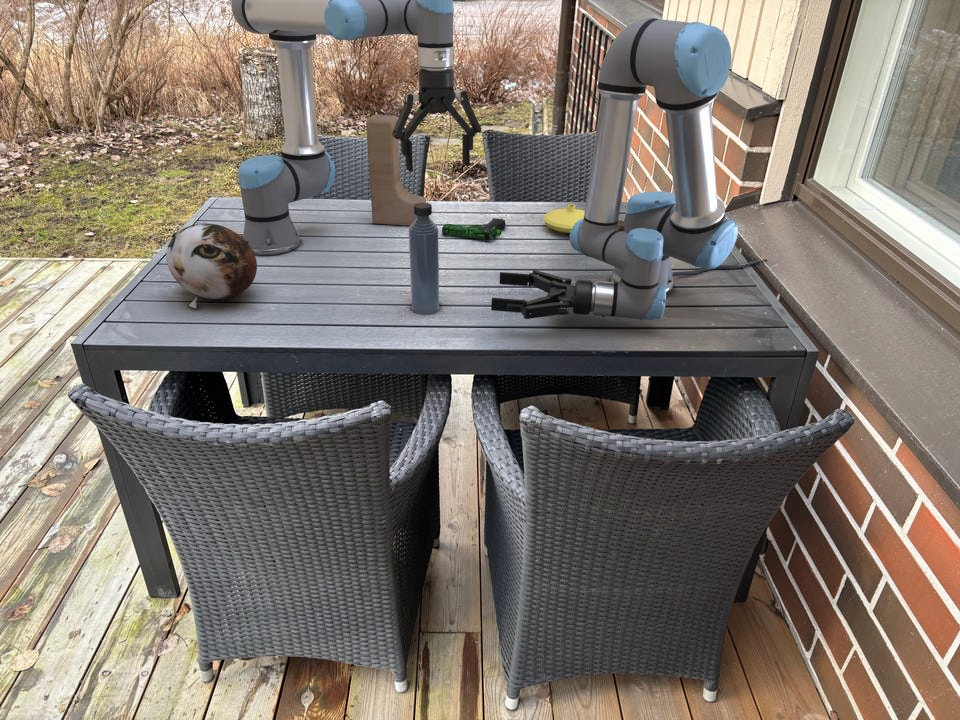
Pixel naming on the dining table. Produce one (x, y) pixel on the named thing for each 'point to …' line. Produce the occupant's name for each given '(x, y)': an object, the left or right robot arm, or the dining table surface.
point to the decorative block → (387, 175)
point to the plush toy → (211, 261)
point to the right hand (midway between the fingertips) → (495, 290)
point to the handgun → (476, 230)
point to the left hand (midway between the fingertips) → (438, 167)
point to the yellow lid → (563, 218)
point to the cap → (422, 209)
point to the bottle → (424, 265)
